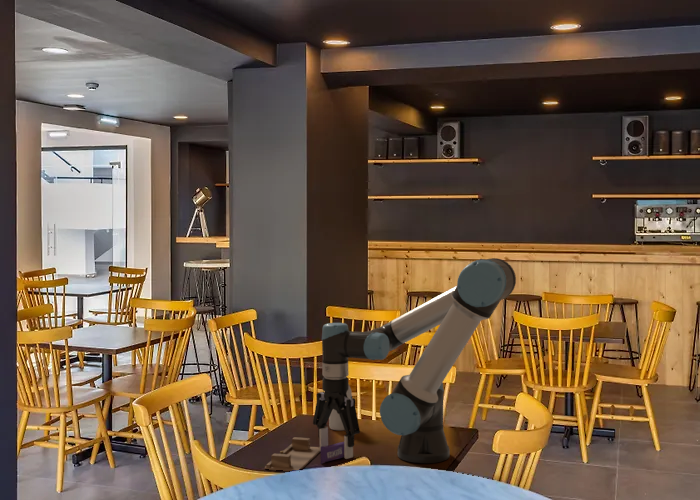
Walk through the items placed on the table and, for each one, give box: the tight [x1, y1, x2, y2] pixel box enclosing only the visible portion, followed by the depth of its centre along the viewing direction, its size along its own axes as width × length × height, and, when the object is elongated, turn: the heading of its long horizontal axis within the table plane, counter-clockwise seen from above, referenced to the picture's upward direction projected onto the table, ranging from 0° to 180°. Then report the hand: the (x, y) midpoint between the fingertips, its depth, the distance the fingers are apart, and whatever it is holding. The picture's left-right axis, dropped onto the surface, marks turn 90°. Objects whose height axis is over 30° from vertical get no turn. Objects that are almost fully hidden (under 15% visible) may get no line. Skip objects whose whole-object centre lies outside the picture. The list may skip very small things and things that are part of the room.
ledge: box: [264, 436, 321, 472], centre depth 223 cm, size 22×10×4 cm, turn 165°
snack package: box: [320, 441, 344, 465], centre depth 222 cm, size 12×2×5 cm, turn 131°
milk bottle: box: [328, 385, 353, 431], centre depth 256 cm, size 8×8×20 cm
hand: (336, 453), depth 222 cm, fingers open, 10 cm apart
